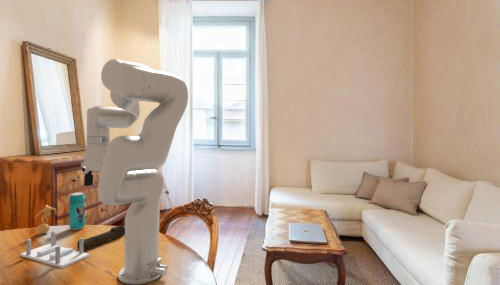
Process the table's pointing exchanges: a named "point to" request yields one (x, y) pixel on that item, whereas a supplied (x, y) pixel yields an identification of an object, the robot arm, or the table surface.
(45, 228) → the figurine
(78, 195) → the beverage can
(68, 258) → the peg rack
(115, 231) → the dark brown rough rod
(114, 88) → the robot arm
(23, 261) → the table surface
